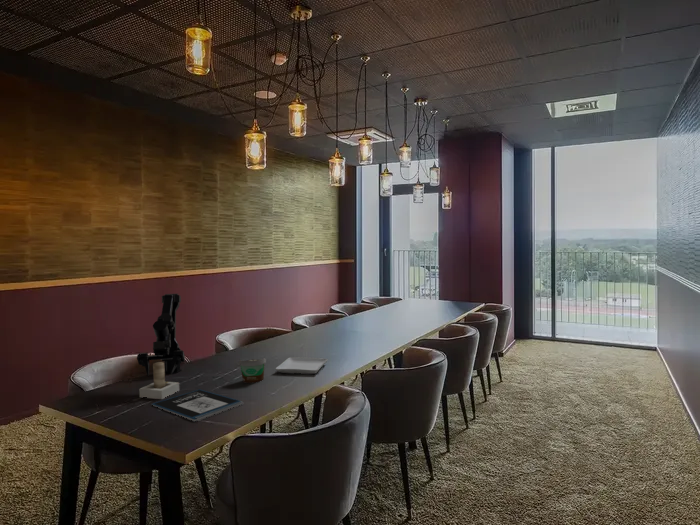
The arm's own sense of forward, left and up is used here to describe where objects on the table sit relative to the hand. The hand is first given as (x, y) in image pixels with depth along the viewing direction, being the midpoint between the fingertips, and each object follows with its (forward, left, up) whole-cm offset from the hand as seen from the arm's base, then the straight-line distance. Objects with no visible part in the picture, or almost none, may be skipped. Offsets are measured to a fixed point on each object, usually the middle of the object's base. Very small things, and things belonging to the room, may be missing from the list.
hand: (159, 375), depth 195 cm
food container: (+32, +23, -8) cm, 40 cm away
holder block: (+1, -1, -8) cm, 8 cm away
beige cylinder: (+1, -1, -8) cm, 8 cm away
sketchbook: (+25, -9, -8) cm, 28 cm away
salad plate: (+46, +47, -8) cm, 66 cm away
